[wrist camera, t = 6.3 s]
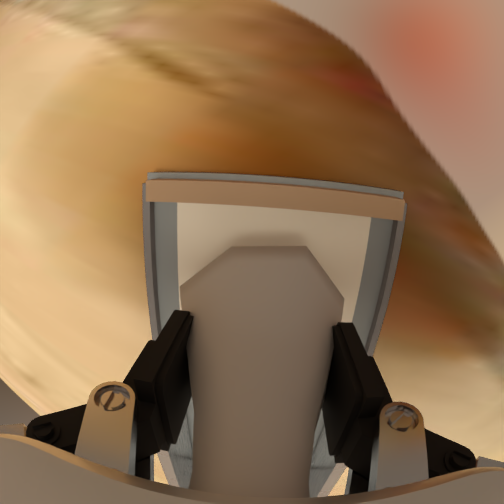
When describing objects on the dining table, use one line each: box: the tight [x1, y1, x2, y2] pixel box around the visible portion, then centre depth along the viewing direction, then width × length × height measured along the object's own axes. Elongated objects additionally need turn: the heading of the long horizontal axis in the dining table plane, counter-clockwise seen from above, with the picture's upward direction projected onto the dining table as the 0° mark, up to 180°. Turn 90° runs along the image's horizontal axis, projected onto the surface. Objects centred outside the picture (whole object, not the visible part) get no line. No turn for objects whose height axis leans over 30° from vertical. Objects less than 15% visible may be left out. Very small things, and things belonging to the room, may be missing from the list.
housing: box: [157, 415, 347, 497], centre depth 18 cm, size 12×18×4 cm, turn 177°
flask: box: [180, 246, 344, 498], centre depth 8 cm, size 7×7×10 cm
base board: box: [143, 172, 407, 456], centre depth 17 cm, size 13×26×2 cm, turn 177°
